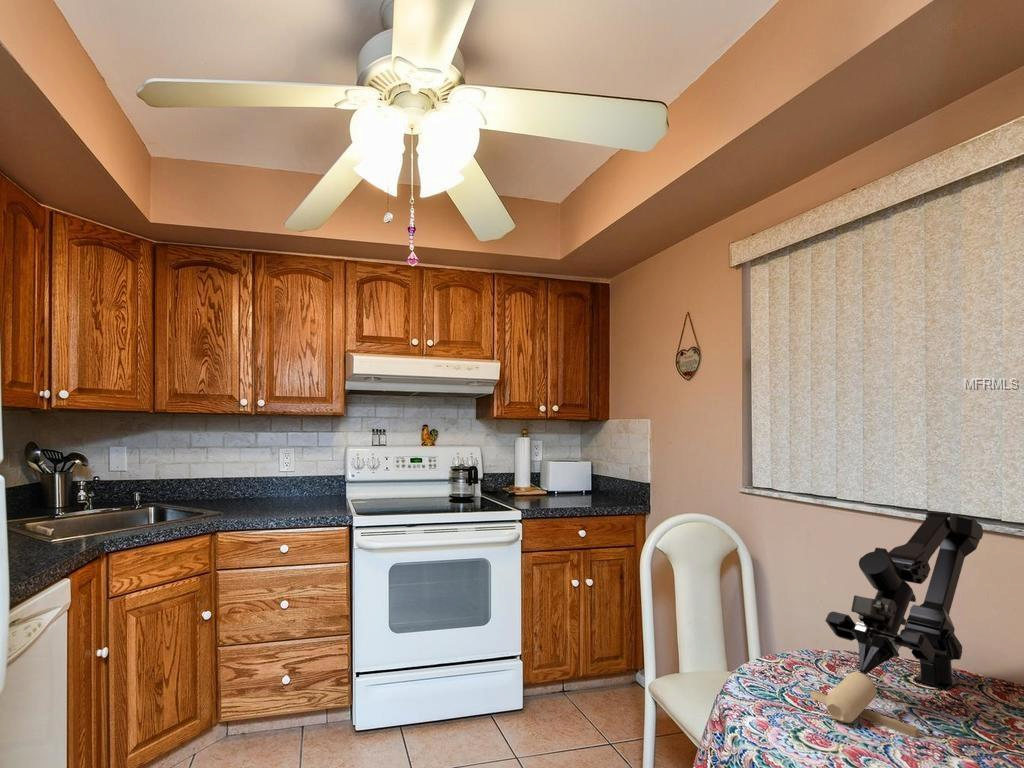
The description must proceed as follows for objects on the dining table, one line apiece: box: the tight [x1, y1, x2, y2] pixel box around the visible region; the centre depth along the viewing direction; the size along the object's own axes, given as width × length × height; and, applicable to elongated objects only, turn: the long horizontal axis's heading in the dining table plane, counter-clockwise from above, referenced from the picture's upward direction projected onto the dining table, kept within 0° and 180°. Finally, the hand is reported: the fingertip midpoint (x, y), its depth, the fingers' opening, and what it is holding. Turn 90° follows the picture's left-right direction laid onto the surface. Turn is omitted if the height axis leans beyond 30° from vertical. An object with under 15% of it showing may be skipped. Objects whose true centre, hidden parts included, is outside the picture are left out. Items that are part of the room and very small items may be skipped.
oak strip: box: [809, 690, 921, 738], centre depth 120 cm, size 1×20×1 cm, turn 32°
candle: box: [824, 671, 878, 724], centre depth 119 cm, size 6×6×10 cm
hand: (862, 672), depth 121 cm, fingers closed
